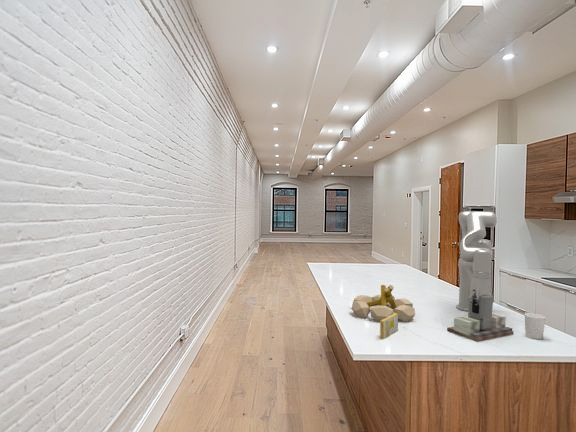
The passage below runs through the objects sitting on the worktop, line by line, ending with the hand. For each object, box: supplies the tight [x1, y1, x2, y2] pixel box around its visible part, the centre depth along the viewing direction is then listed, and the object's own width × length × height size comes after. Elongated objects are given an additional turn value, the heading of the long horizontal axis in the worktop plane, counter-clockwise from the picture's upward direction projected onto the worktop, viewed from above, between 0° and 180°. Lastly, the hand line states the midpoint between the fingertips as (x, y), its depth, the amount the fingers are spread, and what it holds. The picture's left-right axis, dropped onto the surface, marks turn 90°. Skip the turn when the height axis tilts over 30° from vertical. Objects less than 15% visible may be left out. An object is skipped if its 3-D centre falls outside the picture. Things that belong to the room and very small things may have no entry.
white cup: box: [524, 312, 546, 340], centre depth 168 cm, size 8×8×10 cm
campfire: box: [351, 284, 416, 323], centre depth 201 cm, size 35×34×17 cm
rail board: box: [446, 312, 514, 343], centre depth 172 cm, size 26×16×8 cm, turn 116°
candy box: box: [379, 312, 399, 340], centre depth 167 cm, size 16×2×8 cm, turn 141°
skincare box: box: [467, 295, 494, 330], centre depth 172 cm, size 8×7×16 cm
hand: (480, 311), depth 172 cm, fingers closed on skincare box, 6 cm apart
